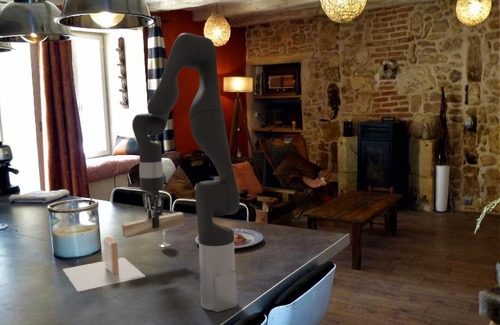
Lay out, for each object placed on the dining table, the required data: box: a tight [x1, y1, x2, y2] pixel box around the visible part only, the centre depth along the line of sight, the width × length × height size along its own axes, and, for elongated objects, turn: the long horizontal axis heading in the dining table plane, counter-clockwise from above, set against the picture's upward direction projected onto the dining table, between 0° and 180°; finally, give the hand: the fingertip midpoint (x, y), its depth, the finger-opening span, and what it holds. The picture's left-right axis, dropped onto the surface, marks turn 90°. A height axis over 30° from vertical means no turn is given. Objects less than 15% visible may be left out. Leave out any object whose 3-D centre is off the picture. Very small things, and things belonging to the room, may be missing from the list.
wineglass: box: [158, 212, 171, 248], centre depth 179 cm, size 6×6×12 cm
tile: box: [103, 236, 119, 275], centre depth 149 cm, size 8×2×10 cm, turn 32°
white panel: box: [62, 256, 146, 292], centre depth 149 cm, size 22×20×1 cm
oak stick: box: [121, 211, 185, 239], centre depth 156 cm, size 3×20×4 cm, turn 122°
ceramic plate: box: [195, 227, 264, 250], centre depth 182 cm, size 26×26×3 cm
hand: (153, 226), depth 156 cm, fingers closed on oak stick, 3 cm apart
